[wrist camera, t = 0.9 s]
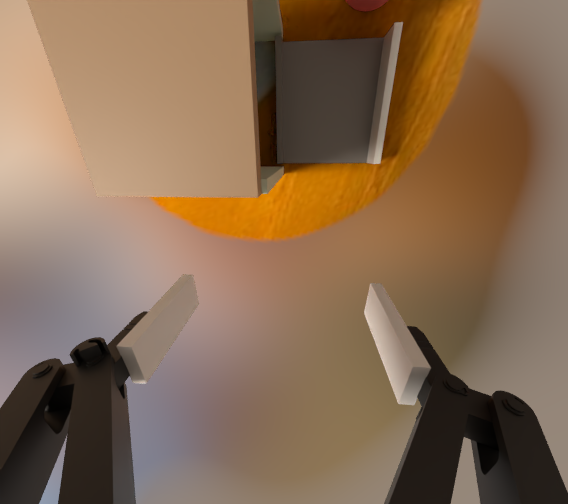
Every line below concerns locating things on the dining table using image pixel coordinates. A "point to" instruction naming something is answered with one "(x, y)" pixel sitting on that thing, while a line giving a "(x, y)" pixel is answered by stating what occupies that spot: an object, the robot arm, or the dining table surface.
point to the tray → (334, 98)
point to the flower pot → (366, 4)
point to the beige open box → (162, 92)
